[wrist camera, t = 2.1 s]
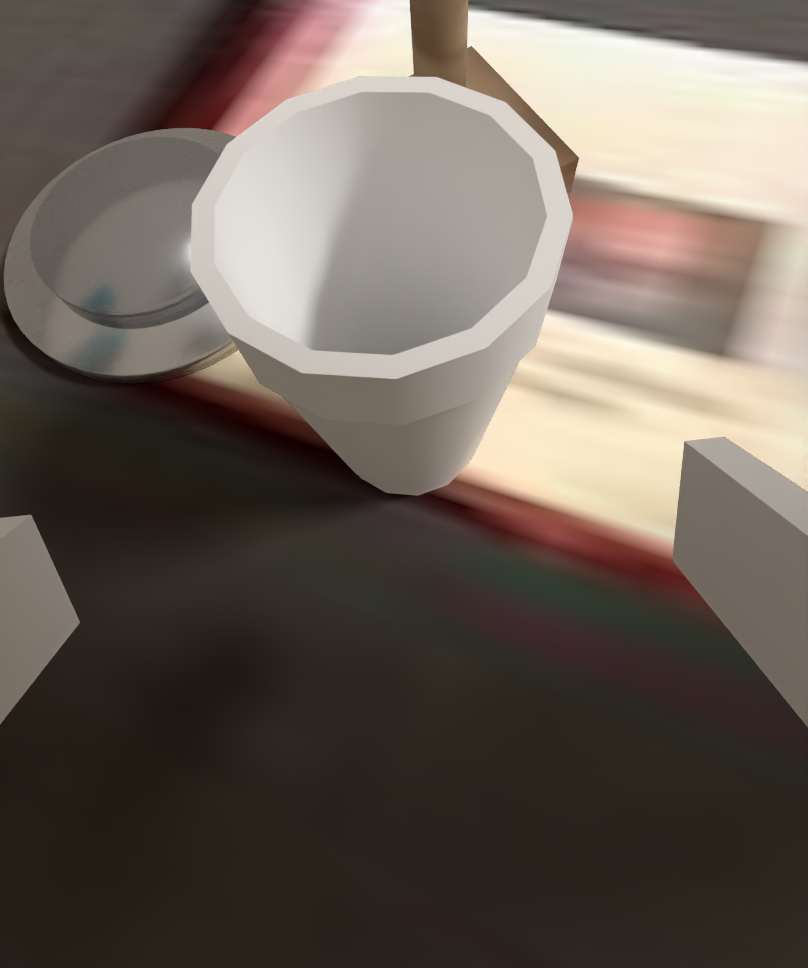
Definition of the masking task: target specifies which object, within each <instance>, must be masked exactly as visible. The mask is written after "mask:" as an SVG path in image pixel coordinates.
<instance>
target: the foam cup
mask: <svg viewBox="0 0 808 968" xmlns="http://www.w3.org/2000/svg"><path fill="white" fill-rule="evenodd" d="M572 219H573V214H572V210H571V206H570V203H569V199H568V195H567V192H566V188H565V184H564V181H563V177H562V173H561V170H560V166H559V162H558V159H557V155H556V151H555V150H554V149H553V148H552V147H551V146H550V145H549V144H548V143H547V142H546V141H545V140H544V139H543V138H542V137H541V136H540V135H539V134H538V133H537V132H536V131H535V130H534V129H533V128H532V127H530V126H529V125H528V124H527V123H526V122H525V121H524V120H523V119H522V118H521V117H520V116H519V115H518V114H517V113H516V112H515V111H514V110H513V109H512V108H511V107H510V106H509V105H508V104H507V103H506V102H504V101H501V100H498V99H495V98H493V97H490V96H487V95H484V94H482V93H479V92H476V91H474V90H471V89H468V88H465V87H463V86H460V85H457V84H454V83H452V82H449V81H446V80H443V79H441V78H438V77H371V76H359V77H356V78H353V79H350V80H347V81H344V82H340V83H337V84H334V85H331V86H328V87H325V88H322V89H319V90H315V91H312V92H309V93H306V94H303V95H300V96H297V97H294V98H290V99H287V100H285V101H284V102H283V103H281V104H280V105H279V106H277V107H276V108H275V109H273V110H272V111H271V112H269V113H268V114H267V115H265V116H264V117H263V118H261V119H260V120H259V121H257V122H256V123H255V124H253V125H252V126H251V127H249V128H248V129H247V130H245V131H244V132H243V133H241V134H240V135H239V136H237V137H236V138H235V139H233V140H232V141H231V142H229V143H228V144H227V145H226V147H225V148H224V150H223V152H222V154H221V155H220V157H219V159H218V160H217V162H216V164H215V166H214V167H213V169H212V171H211V172H210V174H209V176H208V178H207V179H206V181H205V183H204V185H203V186H202V188H201V190H200V191H199V193H198V195H197V197H196V198H195V200H194V202H193V203H192V223H191V273H192V275H193V277H194V278H195V280H196V281H197V283H198V285H199V286H200V288H201V290H202V291H203V293H204V294H205V296H206V298H207V299H208V301H209V303H210V304H211V306H212V308H213V309H214V311H215V312H216V314H217V316H218V317H219V319H220V321H221V322H222V324H223V325H224V327H225V329H226V330H227V332H228V334H229V335H230V337H231V338H232V340H233V341H234V343H235V345H236V346H237V348H238V349H239V351H240V353H241V354H242V356H243V357H244V359H245V360H246V362H247V364H248V365H249V367H250V368H251V370H252V372H253V373H254V375H255V376H256V378H257V379H258V381H259V383H260V384H262V385H264V386H265V387H267V388H269V389H271V390H273V391H274V392H276V393H278V394H280V395H281V396H282V397H283V398H284V399H285V400H286V401H287V402H288V403H289V404H290V405H291V406H292V407H293V408H294V409H295V410H296V411H297V412H298V413H299V414H300V415H301V417H302V418H303V419H304V420H305V421H306V422H307V423H308V424H309V425H310V426H311V427H312V428H313V429H314V430H315V431H316V432H317V433H318V434H319V435H320V436H321V438H322V439H323V440H324V441H325V442H326V443H327V444H328V445H329V446H330V447H331V448H332V449H333V450H334V451H335V452H336V453H337V454H338V455H339V456H340V458H341V459H342V460H343V461H344V462H345V463H346V464H347V465H348V466H349V467H350V468H351V469H352V470H353V471H354V472H355V473H356V474H357V475H359V477H360V478H362V479H363V480H365V481H367V482H368V483H370V484H372V485H374V486H375V487H377V488H379V489H380V490H382V491H384V492H386V493H393V494H405V495H417V496H418V495H421V494H423V493H426V492H429V491H432V490H435V489H438V488H440V487H443V486H446V485H448V484H449V483H450V482H451V481H452V480H453V479H454V478H455V477H456V476H457V475H458V474H459V473H460V472H461V471H462V470H463V469H464V468H465V467H466V466H467V465H468V464H469V462H470V460H471V459H472V457H473V455H474V453H475V451H476V449H477V447H478V445H479V443H480V441H481V439H482V437H483V435H484V433H485V431H486V429H487V427H488V425H489V423H490V421H491V419H492V417H493V415H494V412H495V410H496V408H497V406H498V404H499V402H500V400H501V398H502V396H503V394H504V392H505V390H506V388H507V386H508V384H509V382H510V380H511V378H512V376H513V374H514V372H515V370H516V367H517V365H518V363H519V361H520V360H521V359H522V358H523V357H524V356H525V355H526V354H527V353H528V352H529V351H530V350H532V349H533V348H534V347H535V345H536V342H537V339H538V336H539V333H540V329H541V326H542V323H543V320H544V317H545V314H546V311H547V307H548V304H549V301H550V298H551V295H552V292H553V289H554V285H555V282H556V279H557V275H558V271H559V267H560V264H561V260H562V256H563V253H564V249H565V245H566V242H567V238H568V234H569V231H570V227H571V223H572Z"/></svg>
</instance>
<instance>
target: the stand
mask: <svg viewBox="0 0 808 968" xmlns="http://www.w3.org/2000/svg"><path fill="white" fill-rule="evenodd" d="M410 13H411V30H412V48H413V65H414V74H413V75H411V76H409V77H438V78H441V79H443V80H446V81H449V82H452V83H454V84H457V85H460V86H463V87H465V88H468V89H471V90H474V91H476V92H479V93H482V94H484V95H487V96H490V97H493V98H495V99H498V100H501V101H504V102H506V103H507V104H508V105H509V106H510V107H511V108H512V109H513V110H514V111H515V112H516V113H517V114H518V115H519V116H520V117H521V118H522V119H523V120H524V121H525V122H526V123H527V124H528V125H529V126H530V127H532V128H533V129H534V130H535V131H536V132H537V133H538V134H539V135H540V136H541V137H542V138H543V139H544V140H545V141H546V142H547V143H548V144H549V145H550V146H551V147H552V148H553V149H554V150H555V151H556V155H557V159H558V162H559V166H560V170H561V173H562V177H563V181H564V184H565V188H566V192H569V191H571V188H572V184H573V180H574V176H575V172H576V168H577V164H578V160H579V157H578V156H577V155H576V154H575V153H574V152H573V151H572V150H571V149H570V148H569V147H568V146H567V145H566V144H565V143H564V142H563V141H562V140H561V139H560V138H559V137H558V136H557V135H556V133H555V132H554V131H553V130H552V129H551V128H550V127H549V126H548V125H547V124H546V123H545V122H544V121H543V120H542V119H541V118H540V117H539V116H538V115H537V114H536V113H535V112H534V111H533V110H532V109H531V107H530V106H529V105H528V104H527V103H526V102H525V101H524V100H523V99H522V98H521V97H520V96H519V95H518V94H517V93H516V92H515V91H514V90H513V89H512V88H511V87H510V86H509V85H508V84H507V83H506V81H505V80H504V79H503V78H502V77H501V76H500V75H499V74H498V73H497V72H496V71H495V70H494V69H493V68H492V67H491V66H490V65H489V64H488V63H487V62H486V61H485V60H484V59H483V58H482V57H481V55H480V54H479V53H478V52H477V51H476V50H475V49H474V48H473V47H472V46H471V47H469V48H467V25H468V0H410Z"/></svg>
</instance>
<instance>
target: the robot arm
mask: <svg viewBox="0 0 808 968" xmlns="http://www.w3.org/2000/svg"><path fill="white" fill-rule="evenodd" d="M672 561H673V562H674V563H675V564H676V566H677V567H678V568H679V569H680V571H681V572H682V573H683V574H684V575H685V577H686V578H687V579H688V580H689V582H690V583H691V584H692V585H693V587H694V588H695V589H696V590H697V591H698V593H699V594H700V595H701V596H702V598H703V599H704V600H705V601H706V603H707V604H708V605H709V606H710V607H711V609H712V610H713V611H714V612H715V614H716V615H717V616H718V617H719V619H720V620H721V621H722V622H723V623H724V625H725V626H726V627H727V628H728V630H729V631H730V632H731V633H732V635H733V636H734V637H735V638H736V639H737V641H738V642H739V643H740V644H741V646H742V647H743V648H744V649H745V651H746V652H747V653H748V654H749V655H750V657H751V658H752V659H753V660H754V662H755V663H756V664H757V665H758V667H759V668H760V669H761V670H762V672H763V673H764V674H765V675H766V676H767V678H768V679H769V680H770V681H771V683H772V684H773V685H774V686H775V688H776V689H777V690H778V691H779V692H780V694H781V695H782V696H783V697H784V699H785V700H786V701H787V702H788V704H789V705H790V706H791V707H792V708H793V710H794V711H795V712H796V713H797V715H798V716H799V717H800V718H801V720H802V721H803V722H804V723H805V724H806V726H807V727H808V492H807V491H806V490H804V489H803V488H801V487H800V486H798V485H797V484H795V483H794V482H792V481H791V480H789V479H788V478H786V477H785V476H783V475H782V474H780V473H779V472H777V471H775V470H774V469H772V468H771V467H769V466H768V465H766V464H765V463H763V462H762V461H760V460H759V459H757V458H756V457H754V456H753V455H751V454H750V453H748V452H747V451H745V450H744V449H742V448H741V447H739V446H738V445H736V444H735V443H733V442H732V441H730V440H729V439H727V438H725V437H718V438H710V439H701V440H692V441H685V442H684V451H683V461H682V471H681V481H680V490H679V500H678V510H677V520H676V529H675V539H674V549H673V559H672ZM79 623H80V621H79V619H78V617H77V615H76V612H75V610H74V608H73V606H72V604H71V601H70V599H69V597H68V595H67V593H66V590H65V588H64V586H63V584H62V582H61V579H60V577H59V575H58V573H57V571H56V568H55V566H54V564H53V562H52V560H51V557H50V555H49V553H48V551H47V549H46V546H45V544H44V542H43V540H42V538H41V535H40V533H39V531H38V529H37V527H36V524H35V522H34V520H33V518H32V515H24V516H15V517H6V518H0V724H1V723H2V721H3V720H4V719H5V717H6V716H7V715H8V714H9V712H10V711H11V710H12V709H13V707H14V706H15V705H16V703H17V702H18V701H19V700H20V698H21V697H22V696H23V695H24V693H25V692H26V691H27V689H28V688H29V687H30V686H31V684H32V683H33V682H34V680H35V679H36V678H37V677H38V675H39V674H40V673H41V672H42V670H43V669H44V668H45V666H46V665H47V664H48V663H49V661H50V660H51V659H52V658H53V656H54V655H55V654H56V652H57V651H58V650H59V649H60V647H61V646H62V645H63V643H64V642H65V641H66V640H67V638H68V637H69V636H70V635H71V633H72V632H73V631H74V629H75V628H76V627H77V626H78V624H79Z"/></svg>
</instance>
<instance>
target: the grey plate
mask: <svg viewBox="0 0 808 968" xmlns="http://www.w3.org/2000/svg"><path fill="white" fill-rule="evenodd" d="M235 138H236V137H234V136H232V135H229V134H225V133H221V132H217V131H212V130H204V129H196V128H175V129H163V130H156V131H151V132H145V133H141V134H137V135H134V136H130V137H127V138H123V139H121V140H118V141H116V142H113V143H110V144H108V145H106V146H104V147H102V148H100V149H97V150H95V151H93V152H91V153H90V154H88V155H86V156H85V157H83V158H81V159H80V160H78V161H76V162H75V163H73V164H72V165H71V166H69V167H68V168H67V169H65V170H64V171H63V172H61V173H60V174H59V175H58V176H57V177H55V178H54V179H53V180H52V181H51V182H50V183H49V184H48V185H47V186H46V187H45V188H44V189H43V190H42V191H41V192H40V193H39V194H38V195H37V197H36V198H35V199H34V200H33V202H32V203H31V204H30V206H29V207H28V208H27V210H26V211H25V212H24V214H23V216H22V218H21V219H20V221H19V223H18V225H17V226H16V229H15V231H14V233H13V236H12V238H11V241H10V243H9V247H8V251H7V254H6V258H5V266H4V290H5V295H6V299H7V304H8V307H9V309H10V312H11V314H12V316H13V319H14V320H15V322H16V323H17V325H18V327H19V328H20V330H21V331H22V333H23V334H24V335H25V336H26V337H27V338H28V339H29V340H30V341H31V342H32V343H33V344H34V345H35V346H36V347H38V348H39V349H40V350H41V351H42V352H44V353H45V354H46V355H47V356H49V357H50V358H51V359H53V360H54V361H55V362H57V363H58V364H59V365H61V366H63V367H65V368H67V369H69V370H71V371H73V372H74V373H77V374H80V375H83V376H86V377H88V378H91V379H96V380H101V381H106V382H111V383H126V384H135V383H151V382H157V381H163V380H169V379H173V378H177V377H180V376H184V375H187V374H190V373H193V372H196V371H198V370H200V369H203V368H205V367H208V366H210V365H212V364H214V363H216V362H218V361H220V360H221V359H223V358H225V357H227V356H229V355H230V354H232V353H233V352H235V351H236V350H238V348H237V346H236V345H235V343H234V341H233V340H232V338H231V337H230V335H229V334H228V332H227V330H226V329H225V327H224V325H223V324H222V322H221V321H220V319H219V317H218V316H217V314H216V312H215V311H214V309H213V308H212V306H211V304H210V303H209V301H208V299H207V298H206V296H205V294H204V293H203V291H202V290H201V288H200V286H199V285H198V283H197V281H196V280H195V278H194V277H193V275H192V273H191V223H192V203H193V202H194V200H195V198H196V197H197V195H198V193H199V191H200V190H201V188H202V186H203V185H204V183H205V181H206V179H207V178H208V176H209V174H210V172H211V171H212V169H213V167H214V166H215V164H216V162H217V160H218V159H219V157H220V155H221V154H222V152H223V150H224V148H225V147H226V145H227V144H228V143H229V142H231V141H232V140H233V139H235Z"/></svg>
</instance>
